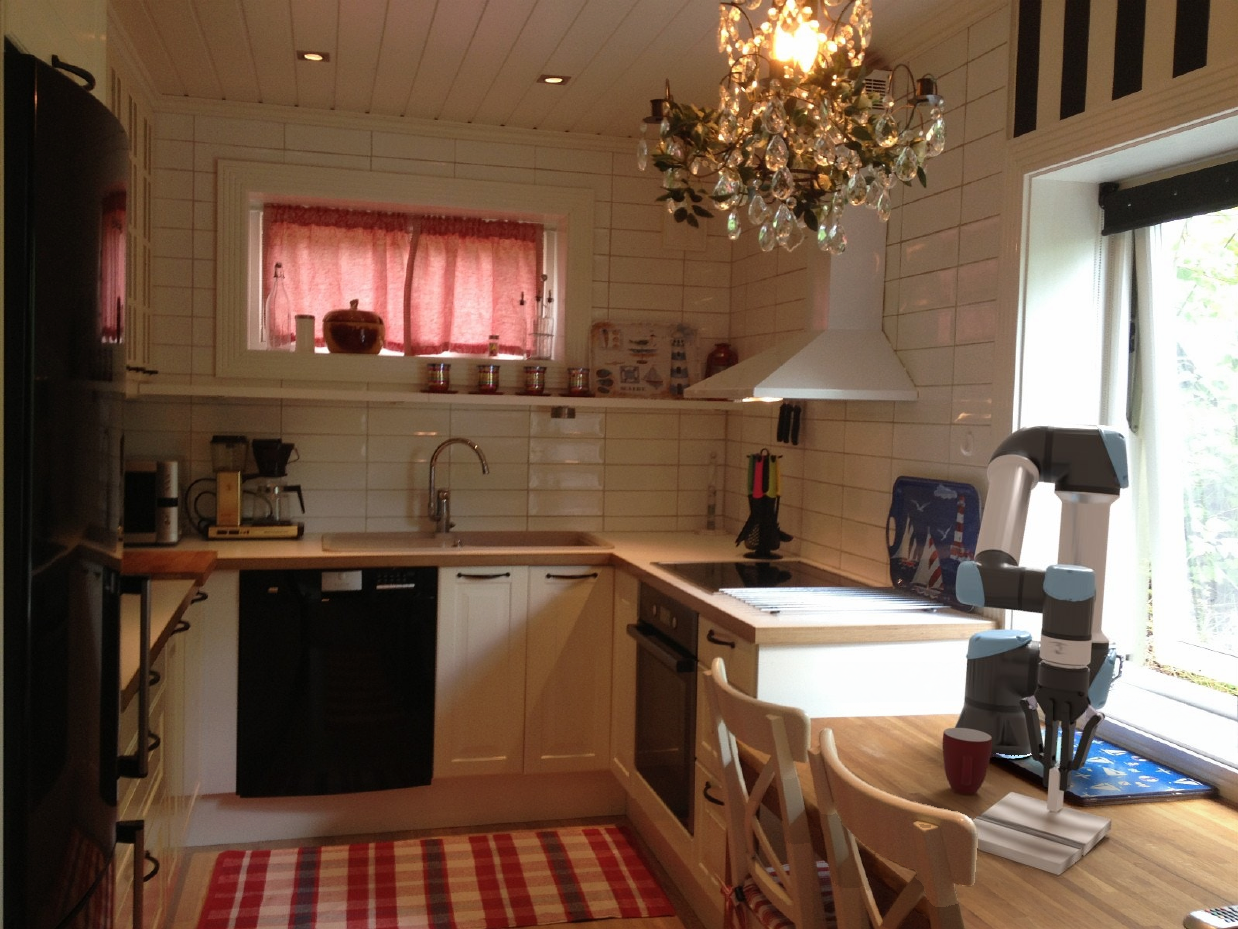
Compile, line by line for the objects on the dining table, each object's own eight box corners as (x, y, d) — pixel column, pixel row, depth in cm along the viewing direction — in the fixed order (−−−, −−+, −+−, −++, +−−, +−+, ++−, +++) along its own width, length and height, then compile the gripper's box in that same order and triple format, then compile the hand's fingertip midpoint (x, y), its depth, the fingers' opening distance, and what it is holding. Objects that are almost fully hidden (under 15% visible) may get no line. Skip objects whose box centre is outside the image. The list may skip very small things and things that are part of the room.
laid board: (977, 826, 171) (977, 816, 171) (1080, 858, 160) (1081, 847, 160) (952, 841, 164) (953, 830, 164) (1059, 875, 154) (1059, 863, 154)
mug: (995, 807, 180) (999, 748, 180) (945, 802, 181) (949, 743, 181) (983, 786, 191) (987, 730, 190) (936, 781, 192) (940, 725, 191)
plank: (1011, 801, 181) (1011, 791, 180) (1111, 829, 170) (1111, 819, 170) (980, 824, 172) (980, 814, 172) (1083, 856, 161) (1084, 845, 161)
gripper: (1014, 658, 173) (1005, 803, 175) (1099, 674, 165) (1088, 826, 166) (1032, 652, 179) (1023, 792, 180) (1115, 667, 170) (1105, 814, 171)
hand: (1054, 808), depth 173 cm, fingers closed
